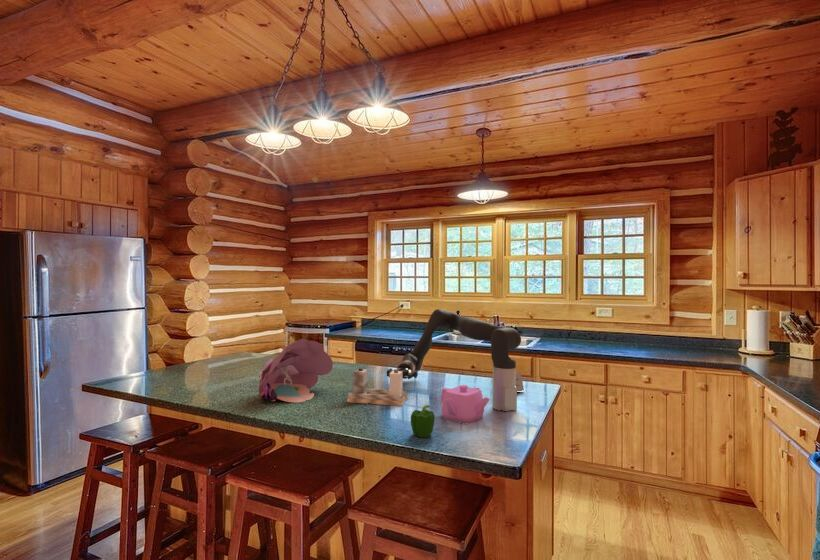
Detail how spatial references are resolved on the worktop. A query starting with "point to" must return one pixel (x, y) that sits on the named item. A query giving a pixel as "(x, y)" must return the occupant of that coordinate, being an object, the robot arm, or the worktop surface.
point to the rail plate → (372, 392)
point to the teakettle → (463, 404)
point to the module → (395, 383)
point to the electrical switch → (519, 382)
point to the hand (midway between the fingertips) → (399, 376)
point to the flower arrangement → (294, 372)
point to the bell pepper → (422, 422)
